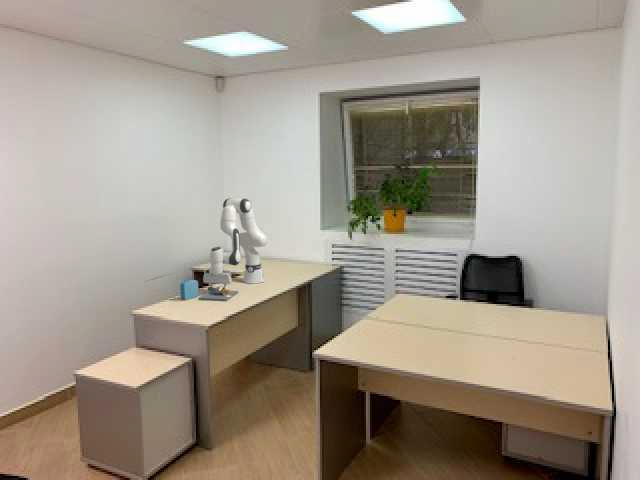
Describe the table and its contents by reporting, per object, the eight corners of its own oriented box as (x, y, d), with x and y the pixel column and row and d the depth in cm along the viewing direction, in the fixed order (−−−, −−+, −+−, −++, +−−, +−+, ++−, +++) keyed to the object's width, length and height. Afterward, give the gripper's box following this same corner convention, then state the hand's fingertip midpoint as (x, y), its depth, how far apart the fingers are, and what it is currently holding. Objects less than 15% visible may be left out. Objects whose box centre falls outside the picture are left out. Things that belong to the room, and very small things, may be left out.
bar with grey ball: (205, 293, 342) (205, 286, 342) (211, 291, 347) (211, 284, 347) (226, 296, 332) (226, 289, 331) (232, 294, 337) (232, 287, 336)
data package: (194, 296, 342) (193, 279, 340) (198, 296, 339) (198, 280, 338) (180, 299, 332) (179, 282, 330) (185, 300, 330) (184, 283, 328)
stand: (212, 291, 353) (212, 288, 352) (239, 293, 348) (239, 290, 348) (198, 299, 331) (198, 296, 331) (227, 301, 327) (227, 298, 327)
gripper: (232, 269, 344) (233, 288, 346) (205, 269, 348) (206, 287, 350) (229, 271, 338) (230, 291, 340) (201, 270, 342) (202, 290, 344)
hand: (217, 289), depth 345 cm, fingers open, 8 cm apart
